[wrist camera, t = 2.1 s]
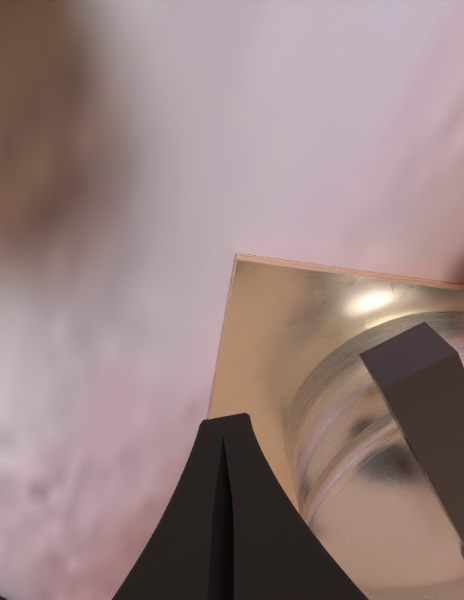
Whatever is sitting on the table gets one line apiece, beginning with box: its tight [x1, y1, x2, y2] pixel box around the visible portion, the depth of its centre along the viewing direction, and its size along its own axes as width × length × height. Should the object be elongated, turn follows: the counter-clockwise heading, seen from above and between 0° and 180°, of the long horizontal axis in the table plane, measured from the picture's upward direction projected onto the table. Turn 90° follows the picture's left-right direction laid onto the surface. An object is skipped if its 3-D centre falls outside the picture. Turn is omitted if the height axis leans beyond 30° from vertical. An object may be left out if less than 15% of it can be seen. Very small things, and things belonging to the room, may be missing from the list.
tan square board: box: [207, 253, 464, 516], centre depth 19 cm, size 19×22×6 cm
